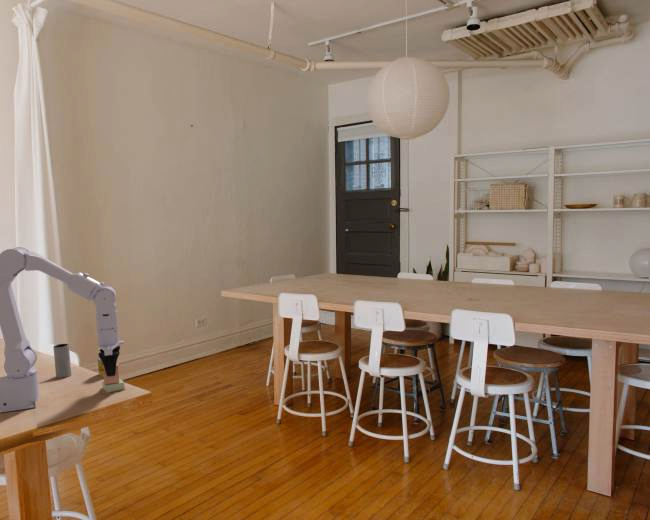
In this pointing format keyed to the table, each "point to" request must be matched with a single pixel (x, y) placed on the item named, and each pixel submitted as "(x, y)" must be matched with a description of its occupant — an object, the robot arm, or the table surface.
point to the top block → (113, 386)
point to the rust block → (112, 378)
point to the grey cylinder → (62, 360)
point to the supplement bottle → (100, 366)
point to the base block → (109, 392)
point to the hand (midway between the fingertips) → (111, 373)
